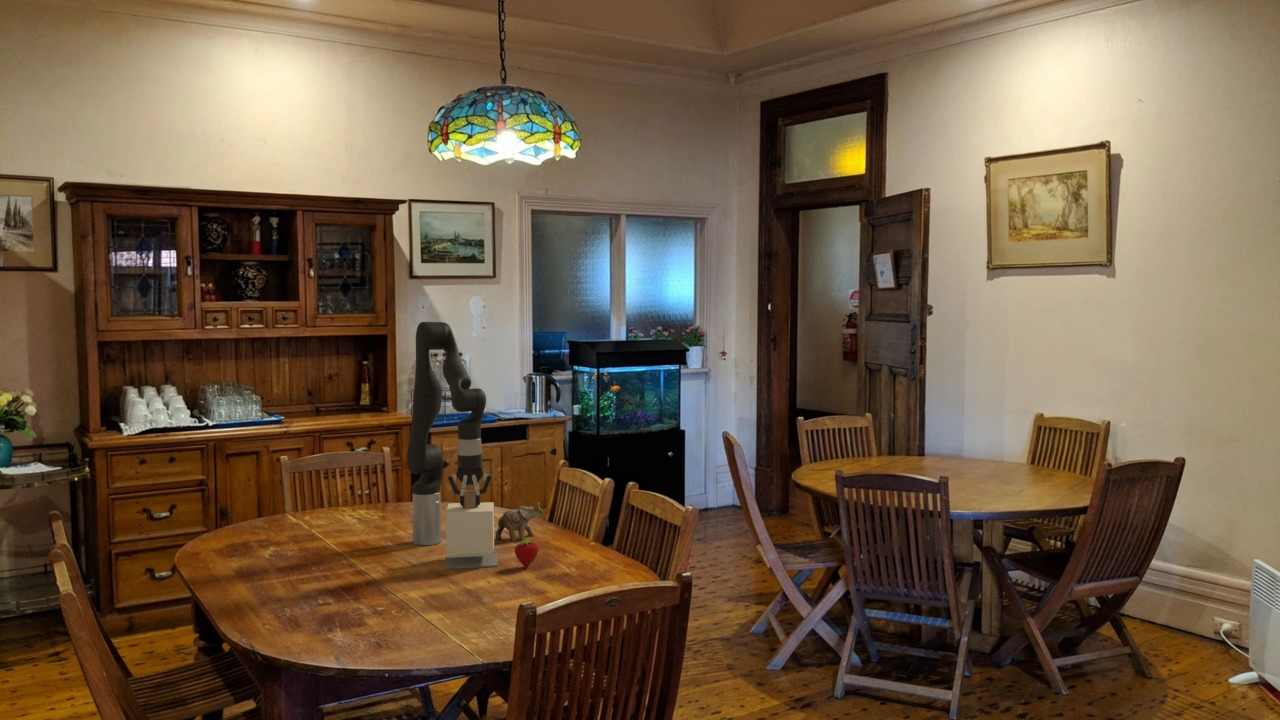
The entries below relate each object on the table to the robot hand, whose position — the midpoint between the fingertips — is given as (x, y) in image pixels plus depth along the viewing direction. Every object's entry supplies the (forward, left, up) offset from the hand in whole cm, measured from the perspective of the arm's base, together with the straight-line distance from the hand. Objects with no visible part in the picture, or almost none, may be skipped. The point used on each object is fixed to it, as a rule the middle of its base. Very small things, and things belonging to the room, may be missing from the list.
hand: (470, 506), depth 297 cm
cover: (0, 0, -13) cm, 13 cm away
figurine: (+15, +26, -18) cm, 35 cm away
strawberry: (+17, -9, -18) cm, 26 cm away
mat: (0, 0, -17) cm, 17 cm away
